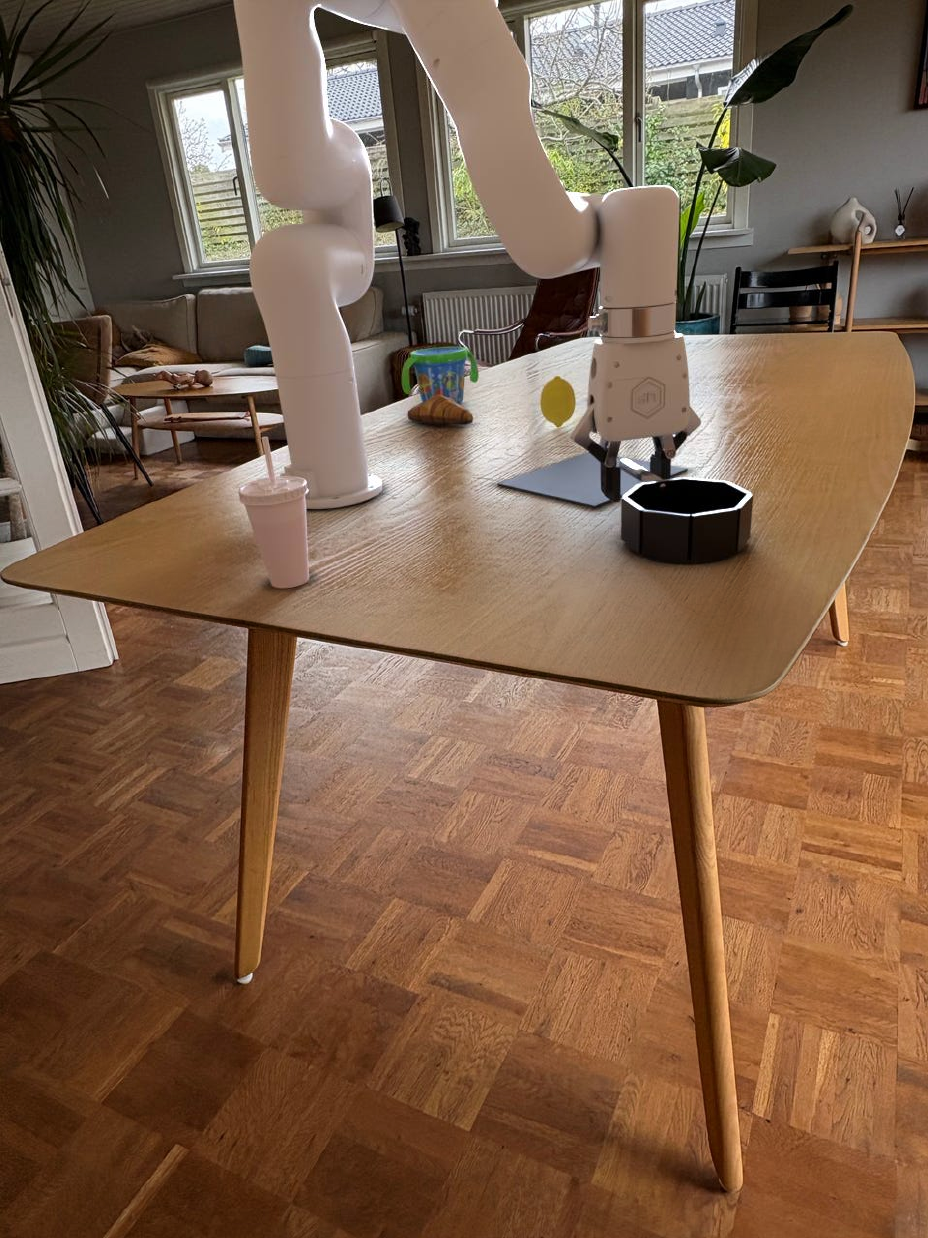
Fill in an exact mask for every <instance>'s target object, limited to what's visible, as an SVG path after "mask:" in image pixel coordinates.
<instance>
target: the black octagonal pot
mask: <svg viewBox="0 0 928 1238" xmlns="http://www.w3.org/2000/svg"><path fill="white" fill-rule="evenodd" d="M623 458H624V459H622V460H620V462H619V467H620V469H621V470H623V471H624V472H626V473H627V474H629V475H631V476H632V477H634V478H635V479H637V480H639V481H640V482H642V483H641V484H637V485H636V486H635V487H633V488H632V489H631V490H629V491H628V492H627V493H625V494H624V495H623V496H621V499H620V501H621V502H620V504H621V505H620V506H621V507H620V509H621V510H620V524H621V525H620V540H621V541H623V543H624V544H625V547H626V548H627V549H628V551H630V552H631V553H633V554H634V555H636V556H639V557H641V558H643V559H647V560H650V561H655V562H661V563H668V564H679V565H680V564H682V565H689V564H690V565H693V564H697V565H699V564H707V563H714V562H720V561H723V560H727V559H730V558H732V557H735V556H736V555H739V554H740V553H742V551H743V550H744V549H745V548H746V546H747V542H748V541H749V540H750V539H751V531H752V519H753V518H752V517H753V507H754V506H753V505H754V494H753V492H751V491H749V490H747V489H745V488H743V487H741V486H739V485H737V484H735V483H733V482H731V481H727V480H721V479H711V478H695V477H686V476H684V477H671V478H670V479H666V480H663V479H662V478H660V477H658V476H656V475H655V474H653V473H651V472H650V471H648V470H646V469H644V468H643V467H641V466H639V465H638V464H636V463H634V462H632V461H631V460H629V459H630V458H628V457H623ZM627 458H628V459H627Z"/></svg>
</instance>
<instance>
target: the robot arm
mask: <svg viewBox="0 0 928 1238" xmlns="http://www.w3.org/2000/svg"><path fill="white" fill-rule="evenodd" d="M498 4H499V0H233V9H234V14H235V20H236V27H237V33H238V40H239V47H240V55H241V62H242V63H241V64H242V72H243V90H244V91H243V92H244V99H245V100H244V101H245V109H246V111H245V112H246V121H247V133H248V142H249V143H248V144H249V154H250V164H251V172H252V175H253V179H254V183H255V186H256V188H257V190H258V191H259V194H260V195H261V196H262V197H263V199H265V200H266V201H267V202H268V203H269V204H271V205H272V206H275V207H276V208H279V209H284V210H291V211H301V215H302V216H301V217H302V223H290V224H289V223H288V224H284V225H280V226H279V225H278V226H276V227H274V228H272V229H270V230H268V231H267V232H265V233H264V234H262V236H261V237H260V238H259V239H258V240H257V242H256V243H255V244H254V247H253V248H252V251H251V254H250V258H249V265H248V267H249V270H248V271H249V279H250V280H249V281H250V284H251V289H252V292H253V295H254V298H255V302H256V304H257V307H258V310H259V313H260V316H261V318H262V322H263V324H264V328H265V331H266V335H267V340H268V343H269V344H268V345H269V348H270V353H271V359H272V363H273V369H274V376H275V379H276V383H277V385H276V386H277V391H278V396H279V401H280V408H281V413H282V419H283V426H284V430H285V431H284V432H285V436H286V441H287V442H286V443H287V448H288V453H289V454H288V455H289V459H290V464H288V465H284V466H283V469H284V472H283V473H281V474H280V475H279V476H296V477H301V478H303V479H305V480H306V483H307V488H308V493H307V494H306V495H305V499H306V510H324V509H325V510H327V509H335V508H342V507H348V506H349V507H350V506H353V505H357V504H360V503H363V502H366V501H368V500H371V499H373V498H376V496H377V497H378V495H380V494H381V493H382V490H383V483H382V479H381V478H379V477H378V476H376V475H374V474H369V467H368V459H367V452H366V445H365V437H364V429H363V423H362V415H361V407H360V400H359V392H358V384H357V377H356V370H355V364H354V362H355V361H354V355H353V350H352V344H351V340H350V336H349V334H348V331H347V328H346V325H345V323H344V320H343V318H342V315H341V313H340V310H339V308H341V307H344V306H348V305H350V304H353V303H355V302H357V301H358V300H360V299H361V298H362V297H364V295H365V294H366V293H367V291H368V290H369V289H370V288H369V287H370V286H371V284H372V280H373V277H374V271H375V257H376V256H375V255H376V254H375V253H376V252H375V224H374V198H373V197H374V196H373V195H374V194H373V176H372V169H371V164H370V163H371V162H370V159H369V155H368V152H367V150H366V148H365V144H364V143H363V141H362V139H361V138H360V137H359V135H358V134H357V133H356V132H355V130H354V129H353V128H352V127H350V126H349V125H348V124H347V123H345V122H343V121H341V120H339V119H338V118H334V117H331V116H330V115H329V106H328V95H327V71H326V70H327V69H326V63H325V57H324V53H323V52H324V51H323V48H322V45H321V41H320V38H319V34H318V32H317V29H316V25H315V19H314V11H315V9H316V8H320V9H322V10H325V11H327V12H330V13H333V14H335V15H337V16H340V17H342V18H345V19H347V20H350V21H353V22H356V23H359V24H363V25H367V26H371V27H376V28H379V29H383V30H387V31H390V32H395V33H398V34H403V35H406V37H407V39H408V41H409V43H410V44H411V47H412V48H413V50H414V52H415V54H416V55H417V58H418V59H419V61H420V63H421V65H422V67H423V68H424V70H425V72H426V74H427V76H428V78H429V79H430V81H431V84H432V85H433V87H434V89H435V91H436V93H437V95H438V96H439V98H440V100H441V102H442V103H443V106H444V108H445V109H446V111H447V113H448V115H449V117H450V119H451V121H452V123H453V125H454V127H455V132H456V136H457V141H458V145H459V149H460V153H461V155H462V158H463V162H464V165H465V169H466V172H467V174H468V178H469V181H470V184H471V186H472V188H473V191H474V193H475V195H476V197H477V199H478V201H479V203H480V206H481V208H482V210H483V212H484V213H485V215H486V217H487V218H488V220H489V222H490V224H491V226H492V227H493V229H494V231H495V233H496V235H497V237H498V238H499V240H500V242H501V244H502V246H503V247H504V249H505V251H506V252H507V254H508V255H509V257H510V258H511V260H512V261H513V262H514V263H515V264H516V265H517V266H518V267H519V268H520V269H521V270H522V271H523V272H525V273H527V274H528V275H530V276H531V277H535V278H538V279H547V280H548V279H549V280H550V279H555V278H559V277H563V276H566V275H571V274H574V273H578V272H581V271H586V270H590V269H594V268H600V269H599V270H600V271H599V273H600V274H599V275H600V279H599V280H600V281H599V283H600V286H599V287H600V293H599V295H600V301H599V302H600V307H598V312H597V314H595V316H589V317H588V318H587V328H588V331H589V332H591V331H596V332H598V335H599V336H600V338H599V339H595V341H594V345H593V349H592V355H591V360H590V367H589V375H588V386H587V403H586V404H587V405H586V411H585V412H584V414H583V416H582V417H581V418H580V420H579V422H578V423H577V424H576V426H575V428H574V429H573V430H572V432H571V434H570V437H569V438H570V440H571V441H572V442H573V443H575V444H577V445H578V446H579V447H581V448H583V449H584V450H585V451H587V453H588V452H589V453H590V454H591V455H593V456H594V457H595V458H596V459H597V460H598V461H599V462H600V463H601V491H602V492H603V493H604V495H605V496H606V497H607V498H608V499H610V500H611V502H612V503H619V502H620V501H621V469H620V467H619V466H617V457H619V452H620V449H621V444H622V442H624V441H632V440H633V441H634V440H638V439H639V440H640V439H647V438H651V439H652V442H653V447H654V453H651V455H650V457H649V462H650V472H651V473H653V474H655V475H656V476H658V477H660V478H662V479H663V480H666V479H671V478H670V474H671V466H672V459H674V458H675V457H676V456H677V451H678V450H679V448H680V447H682V445H683V444H684V443H685V442H686V441H687V438H688V437H689V436H690V435H692V434H693V433H694V432H695V431H696V430H697V429H698V428H699V427H700V426H701V424H702V420H701V418H700V417H699V416H698V414H697V413H696V412H695V410H694V409H693V408H692V406H691V403H690V401H691V400H690V375H689V364H688V363H689V362H688V355H687V350H686V344H685V338H684V334H682V333H677V332H676V323H677V291H678V286H677V285H678V262H679V261H678V259H679V233H680V232H679V231H680V226H679V225H680V197H679V195H678V192H677V191H676V190H675V189H674V188H673V187H671V186H669V185H647V186H646V185H645V186H636V187H628V188H627V187H626V188H620V189H616V190H612V191H610V192H608V193H607V194H603V193H601V194H600V193H599V194H598V193H582V192H571V191H570V192H569V191H567V190H566V188H565V186H564V184H563V182H562V181H561V179H560V177H559V175H558V173H557V172H556V169H555V167H554V166H553V164H552V162H551V160H550V158H549V156H548V154H547V152H546V150H545V148H544V145H543V143H542V141H541V138H540V135H539V133H538V131H537V130H538V129H537V127H536V124H535V122H534V119H533V118H534V117H533V114H532V113H533V112H532V108H531V107H532V106H531V95H532V87H533V85H532V84H533V83H532V81H533V80H532V76H531V70H530V67H529V65H528V64H527V61H526V60H525V58H524V55H523V54H522V52H521V50H520V48H519V46H518V45H517V42H516V41H515V38H514V36H513V34H512V33H511V31H510V29H509V27H508V25H507V23H506V21H505V19H504V17H503V15H502V13H501V11H500V9H499V7H498ZM591 433H593V434H596V435H598V436H599V437H600V439H599V443H598V442H596V441H595V440H593V439H592V438H591V436H590V434H591Z"/></svg>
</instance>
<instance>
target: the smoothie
mask: <svg viewBox="0 0 928 1238" xmlns="http://www.w3.org/2000/svg"><path fill="white" fill-rule="evenodd" d="M261 441H262V448H263V453H264V456H265V462H266V469H267V473H268V477H263V478H259V479H256V480H252V481H249V482H247V483H245V484H243V485H241V486H240V487H239V488H238V490H237V491H238V492H237V493H238V496H239V497H238V498H239V499H238V501H239V502H240V503H241V504H243V505H244V508H245V510H246V514H247V517H248V520H249V523H250V525H251V528H252V532H253V534H254V537H255V541H256V543H257V546H258V550H259V552H260V556H261V558H262V560H263V564H264V567H265V570H266V572H267V575H268V578H269V581H270V584H271V586H272V587H273V588H276V589H291V588H296V587H299V586H302V585H304V584H306V583H307V582H308V581H309V580H310V567H309V565H310V564H309V546H308V525H307V524H308V523H307V522H308V521H307V520H308V519H307V509H306V499H305V495H306V494H307V493H308V488H307V483H306V480H305V479H303V478H301V477H296V476H280V475H278V476H277V475H276V473H275V468H274V463H273V457H272V452H271V447H270V443H269V442H270V441H269V437H268V436H262V437H261Z"/></svg>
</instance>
